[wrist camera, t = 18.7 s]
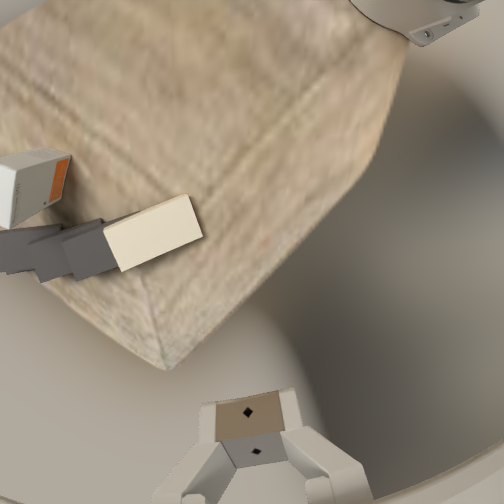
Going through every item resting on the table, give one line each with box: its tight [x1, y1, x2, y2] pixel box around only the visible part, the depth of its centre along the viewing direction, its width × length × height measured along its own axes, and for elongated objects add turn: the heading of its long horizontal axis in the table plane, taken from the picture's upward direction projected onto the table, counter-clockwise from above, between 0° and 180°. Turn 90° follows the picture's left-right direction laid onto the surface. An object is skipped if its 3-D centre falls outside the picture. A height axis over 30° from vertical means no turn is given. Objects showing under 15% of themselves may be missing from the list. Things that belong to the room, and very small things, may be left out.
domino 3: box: [61, 211, 140, 281], centre depth 35 cm, size 2×5×10 cm
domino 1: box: [0, 224, 62, 272], centre depth 34 cm, size 2×5×10 cm
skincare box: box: [0, 147, 71, 230], centre depth 28 cm, size 6×4×12 cm
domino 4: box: [103, 194, 203, 272], centre depth 35 cm, size 2×5×10 cm
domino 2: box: [27, 218, 102, 283], centre depth 35 cm, size 2×5×10 cm
